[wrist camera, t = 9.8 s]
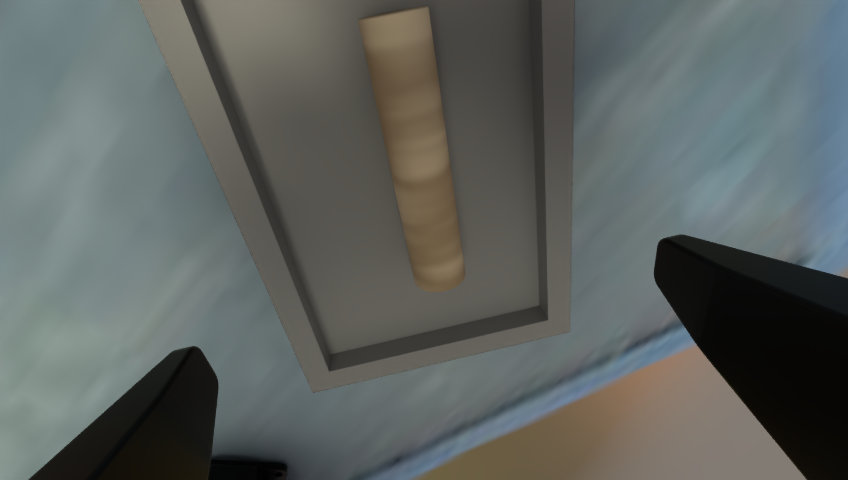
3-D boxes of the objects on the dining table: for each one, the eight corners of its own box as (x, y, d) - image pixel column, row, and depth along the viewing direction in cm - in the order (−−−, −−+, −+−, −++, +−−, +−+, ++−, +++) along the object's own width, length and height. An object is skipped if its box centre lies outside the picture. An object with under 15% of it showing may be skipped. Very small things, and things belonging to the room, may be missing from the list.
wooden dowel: (473, 285, 21) (535, 57, 12) (433, 310, 19) (473, 79, 11) (395, 206, 24) (402, -19, 15) (357, 224, 23) (343, -7, 14)
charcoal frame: (554, 308, 25) (569, 331, 23) (315, 364, 24) (312, 392, 23) (550, -140, 15) (576, -157, 13) (135, -64, 14) (106, -72, 12)
